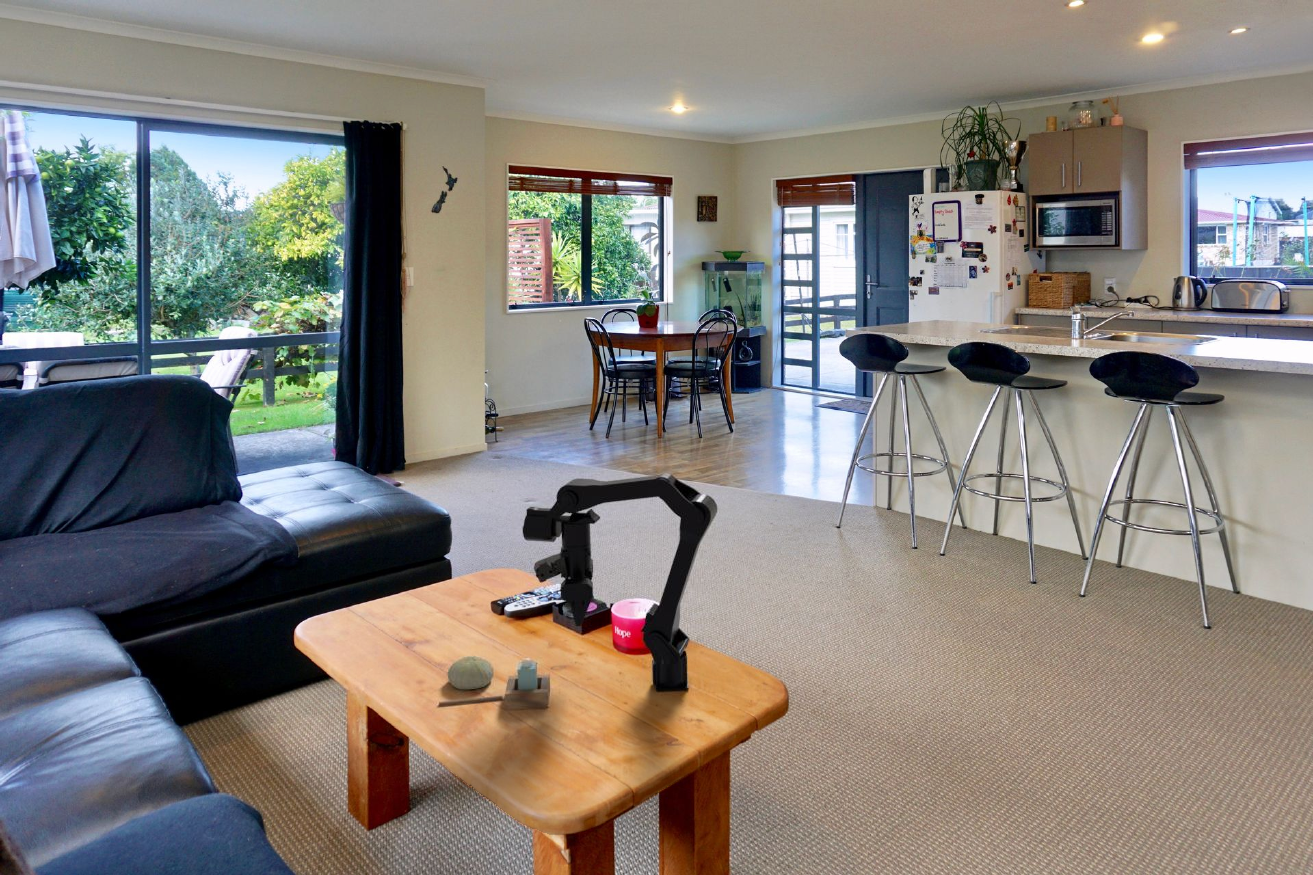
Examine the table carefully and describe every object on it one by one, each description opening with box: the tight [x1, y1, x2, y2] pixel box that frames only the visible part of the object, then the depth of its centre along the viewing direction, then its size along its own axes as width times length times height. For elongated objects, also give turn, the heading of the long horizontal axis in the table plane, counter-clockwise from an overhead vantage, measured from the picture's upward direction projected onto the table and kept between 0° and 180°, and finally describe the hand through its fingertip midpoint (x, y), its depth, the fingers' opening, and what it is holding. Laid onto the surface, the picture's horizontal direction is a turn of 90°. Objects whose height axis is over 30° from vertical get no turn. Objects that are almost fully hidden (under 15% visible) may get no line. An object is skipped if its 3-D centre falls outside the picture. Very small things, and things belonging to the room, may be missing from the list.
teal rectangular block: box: [516, 657, 538, 690], centre depth 181 cm, size 3×3×8 cm
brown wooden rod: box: [438, 695, 504, 707], centre depth 181 cm, size 12×1×1 cm, turn 101°
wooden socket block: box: [504, 673, 551, 711], centre depth 181 cm, size 8×8×3 cm
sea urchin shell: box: [447, 655, 495, 690], centre depth 189 cm, size 9×8×8 cm
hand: (578, 617), depth 189 cm, fingers open, 9 cm apart
